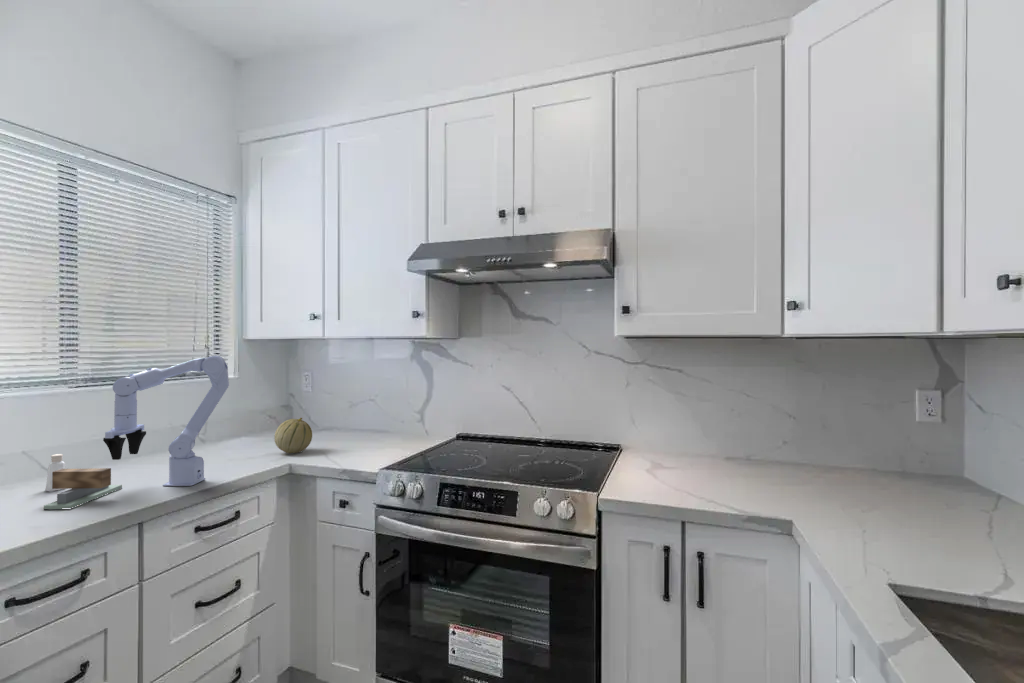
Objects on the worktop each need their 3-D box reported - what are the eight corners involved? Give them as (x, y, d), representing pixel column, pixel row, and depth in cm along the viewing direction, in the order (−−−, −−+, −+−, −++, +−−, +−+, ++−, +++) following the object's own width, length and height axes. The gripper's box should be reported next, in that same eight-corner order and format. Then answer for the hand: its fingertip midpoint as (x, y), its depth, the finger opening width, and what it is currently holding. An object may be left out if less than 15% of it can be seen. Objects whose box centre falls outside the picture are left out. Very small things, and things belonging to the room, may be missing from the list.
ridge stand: (121, 488, 159) (122, 476, 159) (69, 509, 139) (69, 495, 139) (99, 488, 159) (99, 476, 159) (43, 509, 139) (43, 495, 139)
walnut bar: (110, 484, 150) (110, 468, 150) (101, 488, 146) (102, 471, 146) (62, 485, 149) (62, 468, 149) (52, 488, 145) (52, 471, 145)
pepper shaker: (46, 492, 155) (46, 457, 155) (44, 489, 158) (44, 454, 158) (69, 488, 159) (69, 454, 159) (66, 485, 162) (67, 452, 162)
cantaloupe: (270, 452, 211) (270, 417, 211) (305, 447, 221) (305, 414, 221) (281, 458, 200) (281, 421, 200) (317, 453, 210) (317, 418, 210)
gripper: (129, 411, 166) (128, 451, 166) (95, 417, 151) (94, 462, 151) (150, 411, 166) (150, 451, 166) (118, 417, 152) (118, 462, 152)
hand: (125, 456), depth 159 cm, fingers open, 7 cm apart
